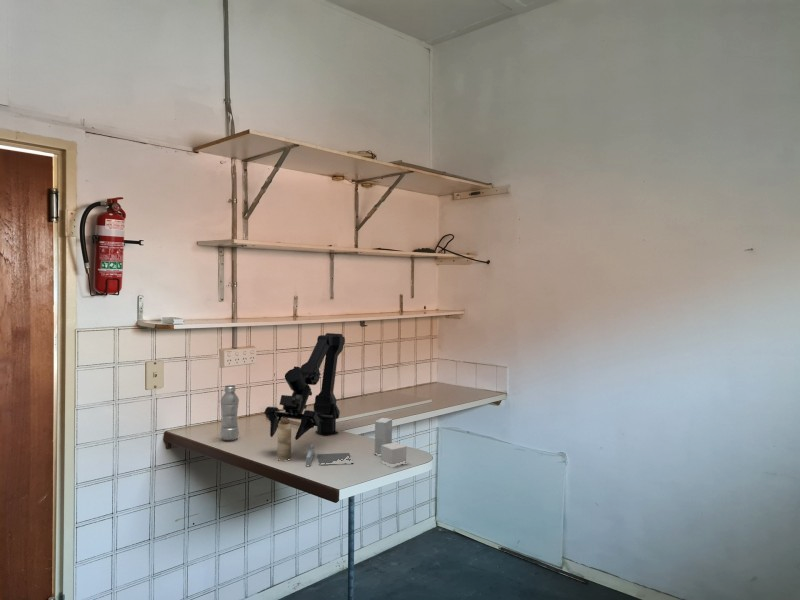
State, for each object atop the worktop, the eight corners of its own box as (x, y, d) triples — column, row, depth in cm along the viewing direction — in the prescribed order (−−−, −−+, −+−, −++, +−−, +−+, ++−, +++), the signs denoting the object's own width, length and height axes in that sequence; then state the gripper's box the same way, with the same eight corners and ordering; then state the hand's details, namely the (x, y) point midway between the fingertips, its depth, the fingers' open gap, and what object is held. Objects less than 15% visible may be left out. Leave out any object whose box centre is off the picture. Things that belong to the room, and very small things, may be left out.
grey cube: (391, 467, 189) (392, 449, 189) (380, 463, 194) (381, 445, 194) (406, 464, 193) (406, 446, 193) (394, 459, 198) (395, 442, 198)
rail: (310, 453, 202) (311, 444, 202) (314, 453, 202) (314, 444, 202) (306, 466, 188) (306, 457, 188) (309, 466, 188) (309, 457, 188)
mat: (317, 455, 200) (317, 454, 200) (349, 453, 203) (349, 452, 202) (319, 465, 189) (319, 464, 189) (353, 464, 192) (353, 462, 192)
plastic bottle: (240, 440, 215) (241, 387, 214) (222, 443, 212) (222, 388, 211) (236, 436, 221) (237, 384, 220) (218, 438, 217) (218, 385, 217)
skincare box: (380, 450, 207) (381, 417, 207) (391, 452, 206) (392, 418, 205) (373, 455, 202) (374, 421, 201) (385, 457, 200) (386, 422, 200)
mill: (286, 456, 198) (287, 415, 198) (293, 459, 195) (294, 417, 195) (274, 458, 196) (275, 417, 195) (281, 461, 192) (282, 419, 192)
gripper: (267, 383, 202) (249, 422, 191) (316, 387, 196) (301, 427, 186) (278, 401, 209) (261, 439, 199) (325, 406, 204) (311, 445, 194)
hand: (283, 437), depth 194 cm, fingers open, 9 cm apart
